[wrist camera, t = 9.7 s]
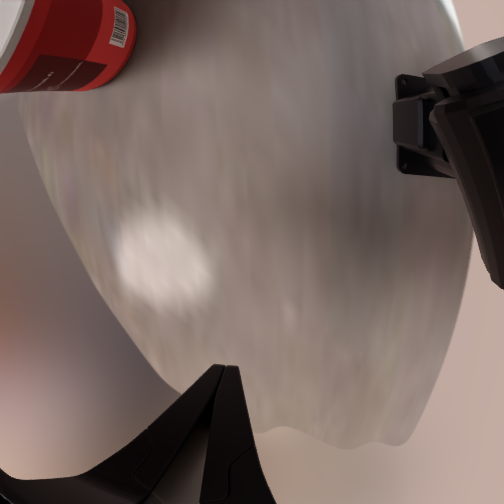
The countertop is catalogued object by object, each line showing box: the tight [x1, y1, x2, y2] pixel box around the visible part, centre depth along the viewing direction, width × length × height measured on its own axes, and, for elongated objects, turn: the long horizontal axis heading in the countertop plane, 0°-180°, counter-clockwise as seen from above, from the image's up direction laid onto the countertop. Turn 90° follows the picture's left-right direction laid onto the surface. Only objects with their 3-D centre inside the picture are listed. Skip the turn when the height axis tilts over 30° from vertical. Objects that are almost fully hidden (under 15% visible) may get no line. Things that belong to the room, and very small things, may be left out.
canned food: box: [0, 0, 137, 94], centre depth 10 cm, size 8×8×11 cm
